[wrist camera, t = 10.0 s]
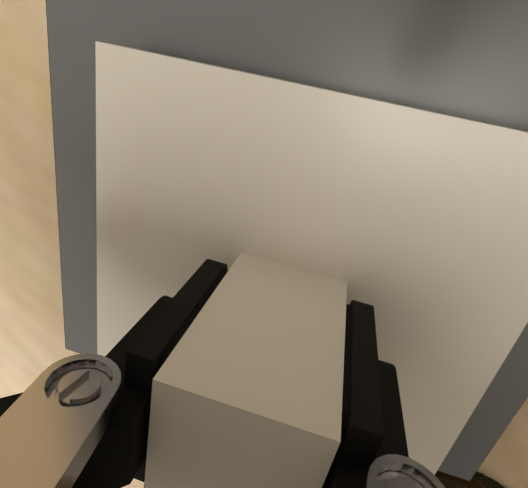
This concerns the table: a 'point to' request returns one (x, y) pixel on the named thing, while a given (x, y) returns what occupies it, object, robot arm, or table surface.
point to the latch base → (301, 71)
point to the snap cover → (301, 260)
